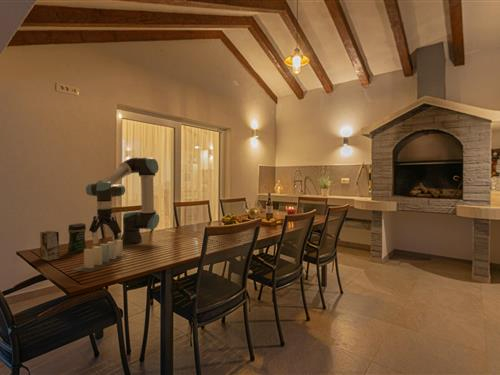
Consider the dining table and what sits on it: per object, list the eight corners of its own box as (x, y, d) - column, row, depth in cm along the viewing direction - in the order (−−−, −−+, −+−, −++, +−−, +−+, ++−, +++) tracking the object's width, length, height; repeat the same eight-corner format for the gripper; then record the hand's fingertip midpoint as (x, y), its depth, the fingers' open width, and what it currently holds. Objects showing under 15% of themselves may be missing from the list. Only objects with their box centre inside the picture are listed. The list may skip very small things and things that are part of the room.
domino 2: (94, 263, 150) (94, 246, 149) (102, 264, 149) (101, 246, 148) (92, 264, 148) (92, 246, 148) (99, 265, 147) (99, 247, 147)
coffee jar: (72, 254, 168) (72, 225, 167) (66, 252, 172) (65, 224, 171) (88, 250, 176) (88, 223, 175) (81, 248, 180) (81, 222, 179)
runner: (113, 254, 168) (113, 253, 168) (129, 256, 166) (129, 255, 165) (71, 270, 139) (71, 269, 139) (89, 272, 136) (89, 272, 136)
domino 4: (109, 257, 161) (109, 241, 160) (116, 258, 159) (116, 242, 159) (107, 258, 159) (107, 242, 159) (114, 259, 158) (114, 242, 157)
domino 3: (102, 260, 155) (102, 243, 155) (109, 261, 154) (109, 244, 154) (100, 261, 154) (99, 244, 153) (107, 262, 152) (107, 245, 152)
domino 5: (116, 255, 166) (115, 239, 166) (122, 255, 165) (122, 240, 164) (114, 255, 164) (114, 240, 164) (120, 256, 163) (120, 240, 163)
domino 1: (86, 266, 145) (86, 248, 144) (94, 267, 143) (94, 249, 143) (84, 267, 143) (84, 249, 143) (91, 268, 142) (91, 250, 141)
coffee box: (59, 258, 159) (59, 232, 159) (47, 261, 154) (46, 233, 153) (52, 255, 164) (52, 230, 163) (40, 258, 158) (39, 232, 158)
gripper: (81, 208, 152) (82, 244, 153) (117, 210, 146) (118, 247, 147) (92, 206, 159) (93, 240, 161) (127, 208, 153) (127, 244, 155)
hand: (105, 244), depth 154 cm, fingers open, 13 cm apart
